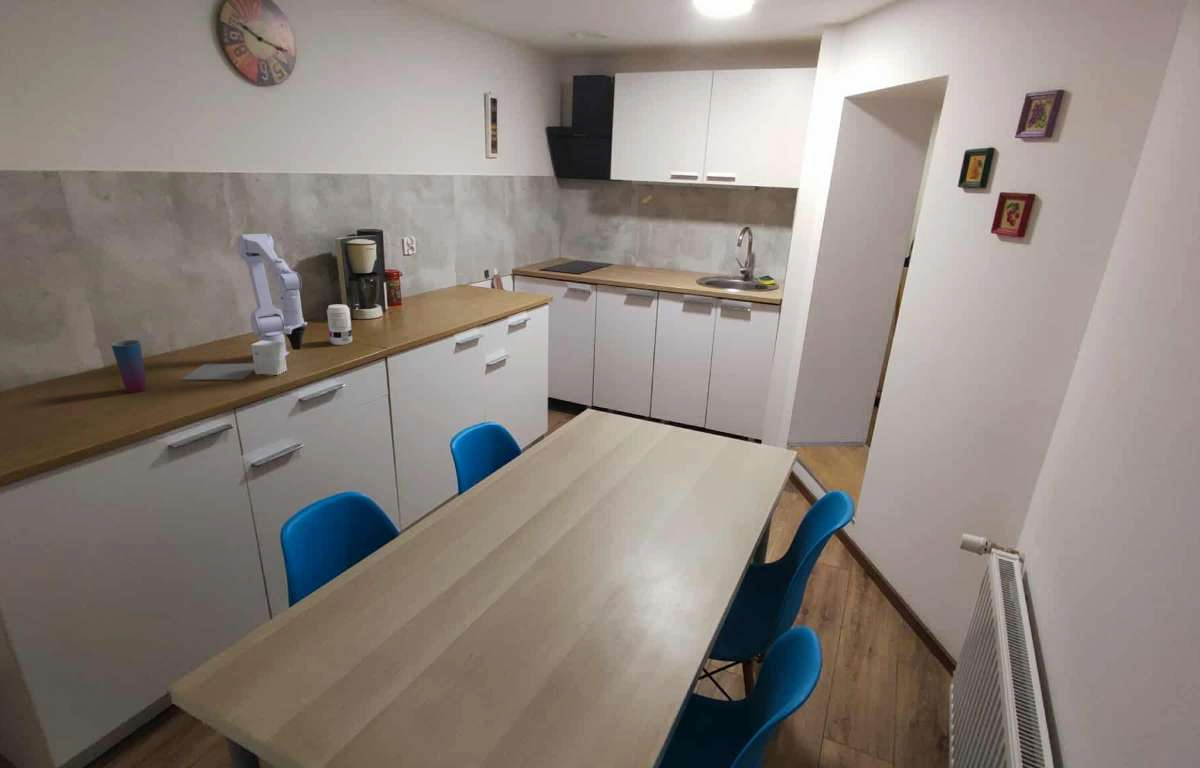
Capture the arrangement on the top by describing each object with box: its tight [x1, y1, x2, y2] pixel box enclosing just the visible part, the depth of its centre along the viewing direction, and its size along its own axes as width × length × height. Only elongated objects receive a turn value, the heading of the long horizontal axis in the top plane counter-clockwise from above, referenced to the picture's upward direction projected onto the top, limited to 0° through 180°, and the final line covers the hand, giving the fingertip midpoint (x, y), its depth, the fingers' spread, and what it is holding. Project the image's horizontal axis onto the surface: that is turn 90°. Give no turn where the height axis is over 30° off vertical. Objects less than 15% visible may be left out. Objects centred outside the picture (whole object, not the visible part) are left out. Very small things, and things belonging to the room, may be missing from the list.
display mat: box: [181, 363, 255, 382], centre depth 198 cm, size 16×18×1 cm
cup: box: [110, 339, 148, 394], centre depth 178 cm, size 7×7×15 cm
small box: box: [250, 341, 288, 376], centre depth 199 cm, size 8×6×10 cm
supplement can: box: [326, 303, 353, 346], centre depth 235 cm, size 8×8×15 cm
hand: (297, 349), depth 199 cm, fingers closed
